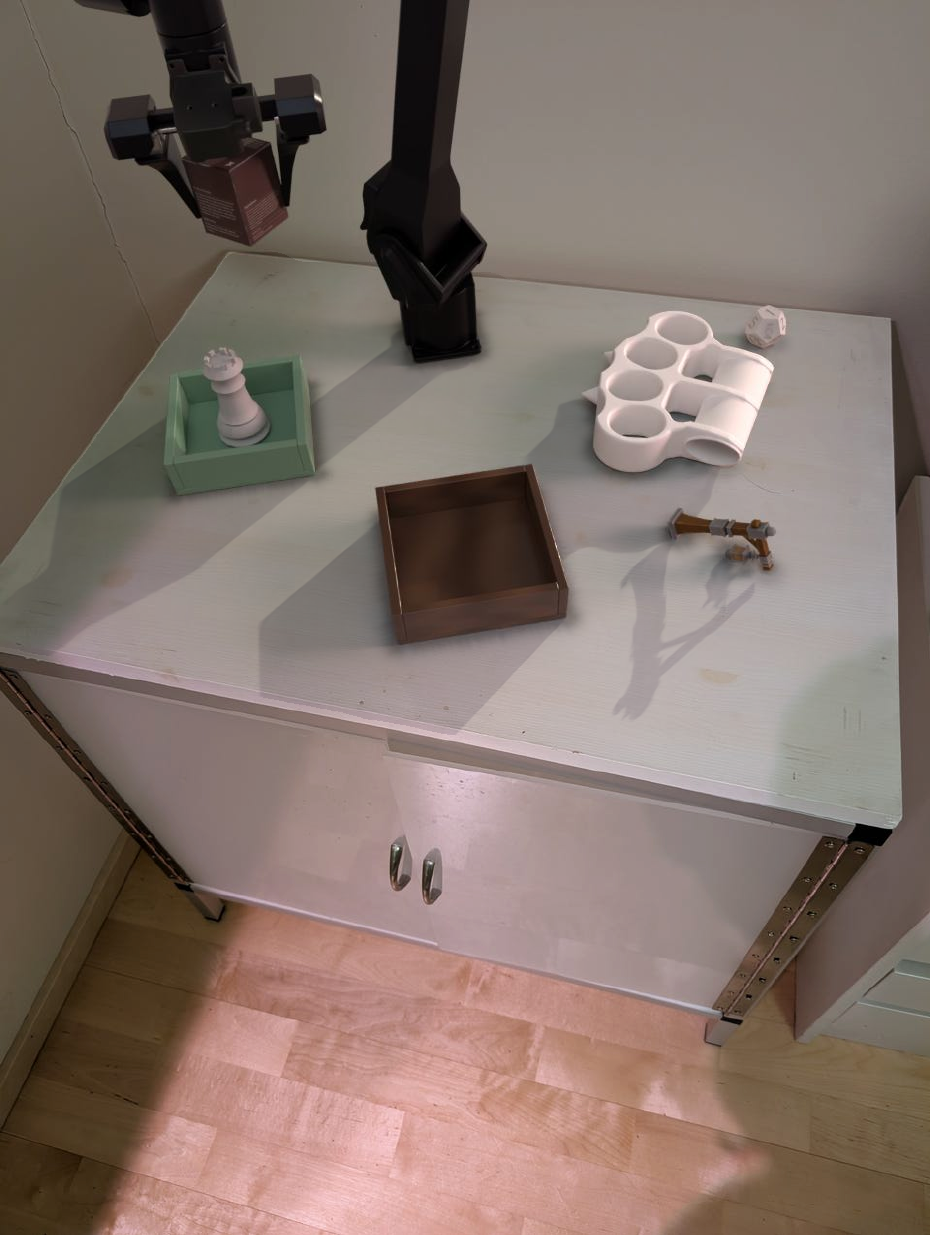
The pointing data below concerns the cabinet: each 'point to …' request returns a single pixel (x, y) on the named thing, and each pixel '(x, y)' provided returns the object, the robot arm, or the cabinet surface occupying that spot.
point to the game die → (765, 326)
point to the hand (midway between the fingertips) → (243, 210)
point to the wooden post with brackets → (724, 527)
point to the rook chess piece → (234, 401)
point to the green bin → (215, 465)
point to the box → (239, 193)
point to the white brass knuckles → (676, 396)
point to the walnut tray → (469, 554)
